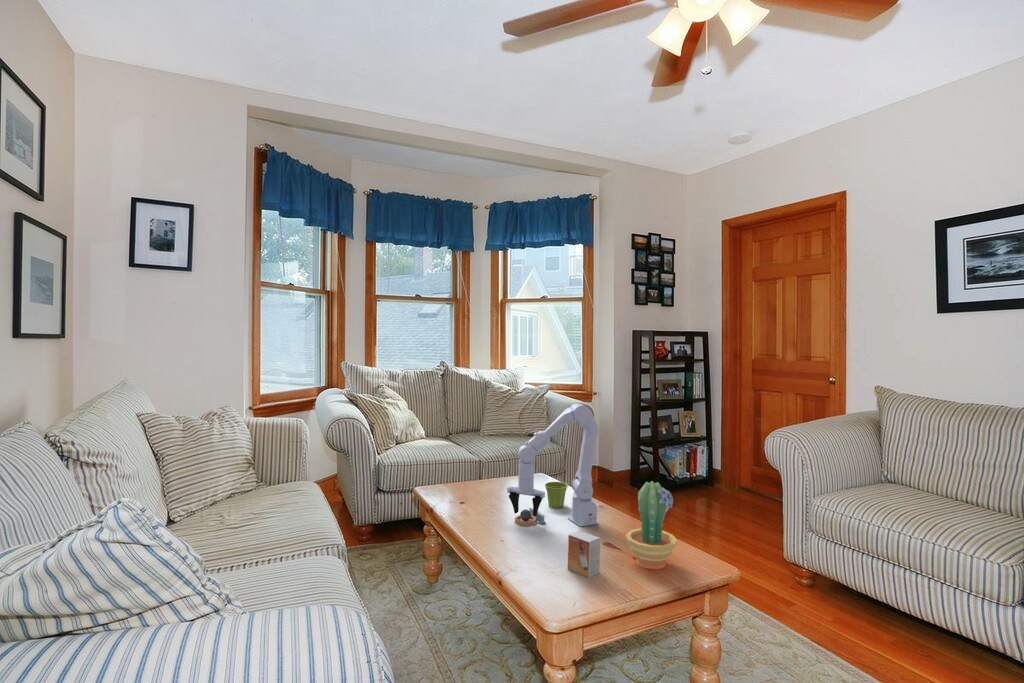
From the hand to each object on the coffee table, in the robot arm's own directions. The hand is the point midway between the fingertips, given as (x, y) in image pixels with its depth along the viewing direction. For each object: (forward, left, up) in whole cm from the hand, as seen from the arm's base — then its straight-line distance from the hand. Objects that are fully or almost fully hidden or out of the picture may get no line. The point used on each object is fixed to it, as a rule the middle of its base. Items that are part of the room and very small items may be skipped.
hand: (525, 514), depth 198 cm
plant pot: (+12, -20, -3) cm, 23 cm away
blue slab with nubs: (0, -5, -3) cm, 6 cm away
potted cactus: (-48, -19, -3) cm, 51 cm away
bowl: (0, 0, -3) cm, 3 cm away
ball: (0, 0, -2) cm, 2 cm away
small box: (-44, +3, -3) cm, 44 cm away
